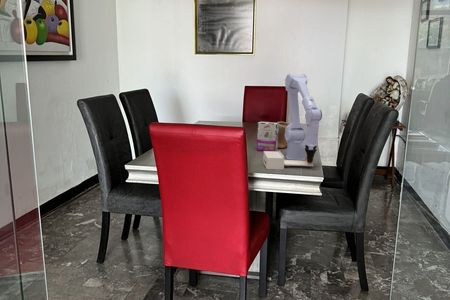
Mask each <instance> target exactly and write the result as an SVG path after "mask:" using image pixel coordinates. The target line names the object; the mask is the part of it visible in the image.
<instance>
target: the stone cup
mask: <svg viewBox="0 0 450 300" xmlns="http://www.w3.org/2000/svg"><path fill="white" fill-rule="evenodd" d="M276 123H279V128H278V146H277V149H278V148H279V149H284V148H286V147H287V146H288V142H287V141H286V139H285V128H286V127H287V126H288V125H289V124H290V122H289V123H288V122H285V121H277V122H276Z"/></svg>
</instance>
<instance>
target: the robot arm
mask: <svg viewBox="0 0 450 300" xmlns="http://www.w3.org/2000/svg"><path fill="white" fill-rule="evenodd" d="M284 84H285V91H287V98H288V99H287V100H288V102H287V103H288V112H289V113H288V114H289V125H288V126H287V127H286V128H285V139H286V142H288V144H287V146H286V147H287V148H286V149H287V150H286V154H285V155H284V157H285V159H286V160H299V161H306V157H307V162H308V163H312V161H313V162H314V157H315V154H316V152H317V151H318V149H317V147H318V139H319V138H318V137H319V127H320V121H321V120H322V119H323V111H322V109H321V108H319V107H318V106H317V104H316V102H315V100H314V97H313V96H310V92H309V89H308V76H307V75H306V73H287V75H286V77H285V79H284ZM299 94H300V96H301V98H302V100H301V104H302V107H303V109H304V111H305V114H304V116H305V117H304V118H305V124H306V130H305V126H304V125H303V124H302V123H300V120H301V119H300V107H299Z"/></svg>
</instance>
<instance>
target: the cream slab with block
mask: <svg viewBox="0 0 450 300" xmlns="http://www.w3.org/2000/svg"><path fill="white" fill-rule="evenodd" d="M284 166H289V167H290V166H291V167H292V166H297V167H299V166H300V167H314V160H313V161H312V163H308V162H307V156H305V160H288V159H284Z"/></svg>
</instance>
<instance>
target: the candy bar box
mask: <svg viewBox="0 0 450 300" xmlns="http://www.w3.org/2000/svg"><path fill="white" fill-rule="evenodd" d="M278 128H279V123H277V122H270V121H258V122H257V131H256V132H257V133H256V134H257V135H256V151H258V152H264V151H274V152H278V148H277V146H278Z"/></svg>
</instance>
